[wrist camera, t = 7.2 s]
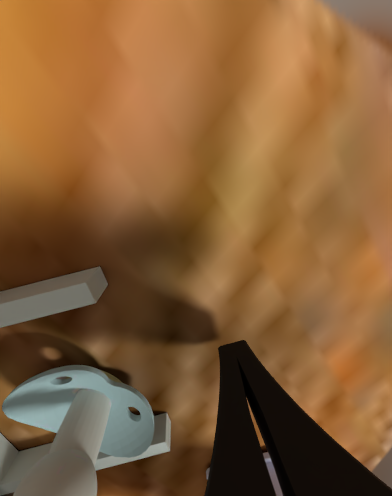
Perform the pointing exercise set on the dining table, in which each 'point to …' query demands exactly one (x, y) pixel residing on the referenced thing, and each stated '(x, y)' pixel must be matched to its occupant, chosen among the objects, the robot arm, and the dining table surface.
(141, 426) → the pacifier
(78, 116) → the dining table surface
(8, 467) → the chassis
